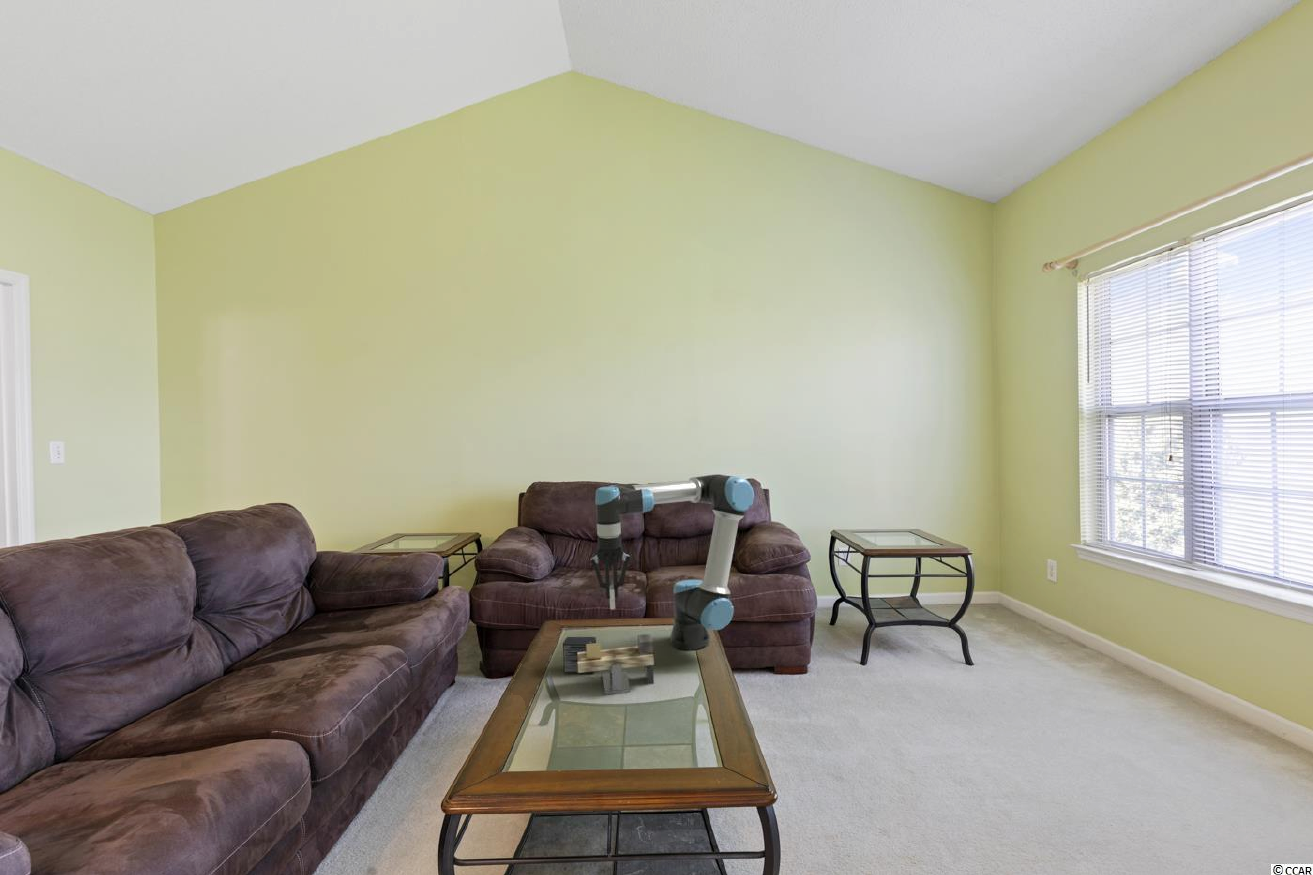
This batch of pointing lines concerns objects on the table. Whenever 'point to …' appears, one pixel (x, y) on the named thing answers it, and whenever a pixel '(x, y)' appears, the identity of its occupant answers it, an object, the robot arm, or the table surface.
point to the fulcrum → (622, 679)
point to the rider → (593, 651)
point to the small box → (575, 653)
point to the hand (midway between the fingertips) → (612, 607)
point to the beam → (620, 656)
